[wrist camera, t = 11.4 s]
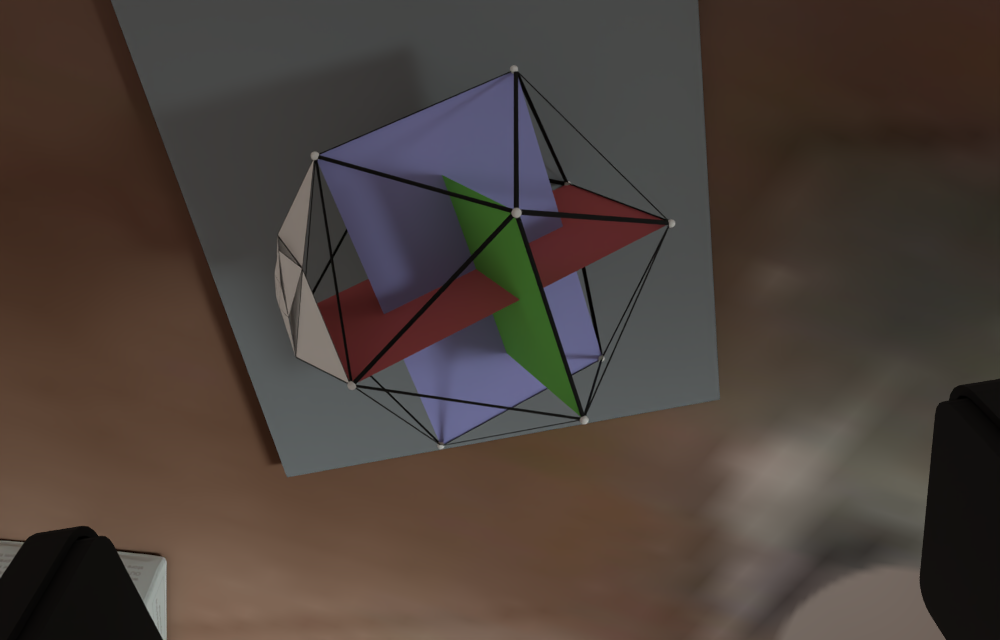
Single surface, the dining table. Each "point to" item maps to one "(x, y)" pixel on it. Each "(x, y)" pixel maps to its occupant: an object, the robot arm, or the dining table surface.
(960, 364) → the dining table surface
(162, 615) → the supplement box
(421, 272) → the geometric puzzle
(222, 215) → the mat
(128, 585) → the robot arm
